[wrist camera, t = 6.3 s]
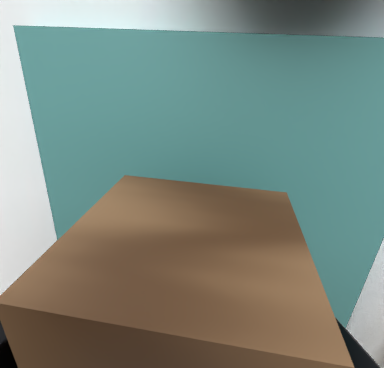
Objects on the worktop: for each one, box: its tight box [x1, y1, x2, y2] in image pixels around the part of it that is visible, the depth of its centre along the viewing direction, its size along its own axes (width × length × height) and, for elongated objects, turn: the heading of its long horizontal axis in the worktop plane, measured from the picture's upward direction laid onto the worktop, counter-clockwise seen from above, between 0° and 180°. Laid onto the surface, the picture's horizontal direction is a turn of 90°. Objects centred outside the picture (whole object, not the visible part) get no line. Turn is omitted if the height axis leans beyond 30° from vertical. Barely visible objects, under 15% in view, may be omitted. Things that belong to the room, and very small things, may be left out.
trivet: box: [13, 25, 384, 328], centre depth 10 cm, size 12×12×1 cm
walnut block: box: [0, 175, 354, 368], centre depth 6 cm, size 4×4×4 cm
